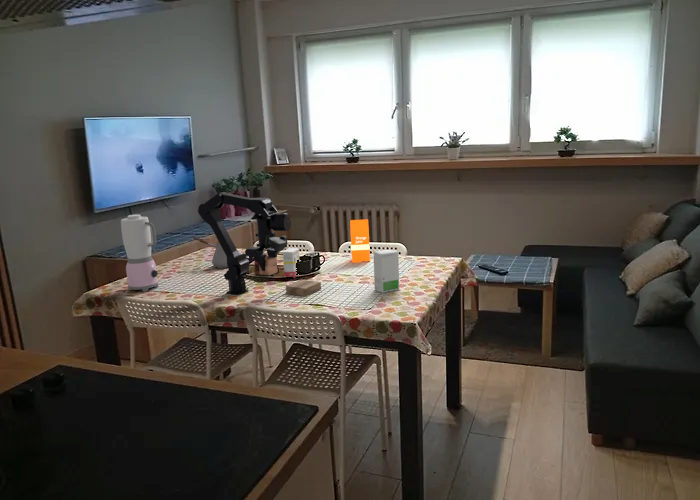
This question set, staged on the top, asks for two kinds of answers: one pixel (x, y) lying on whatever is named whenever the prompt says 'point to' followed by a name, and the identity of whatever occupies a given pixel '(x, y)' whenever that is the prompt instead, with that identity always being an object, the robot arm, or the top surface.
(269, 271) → the terracotta cube
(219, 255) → the coffee pot
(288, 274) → the ink box
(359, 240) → the orange juice
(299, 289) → the tan square slab
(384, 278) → the skincare box
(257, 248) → the robot arm
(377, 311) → the top surface
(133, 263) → the blender
